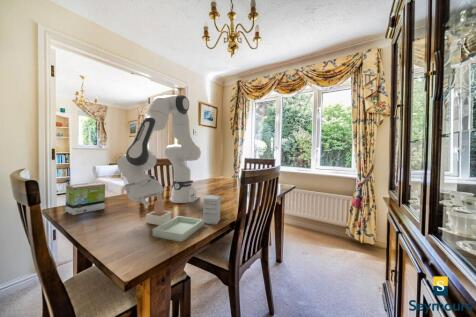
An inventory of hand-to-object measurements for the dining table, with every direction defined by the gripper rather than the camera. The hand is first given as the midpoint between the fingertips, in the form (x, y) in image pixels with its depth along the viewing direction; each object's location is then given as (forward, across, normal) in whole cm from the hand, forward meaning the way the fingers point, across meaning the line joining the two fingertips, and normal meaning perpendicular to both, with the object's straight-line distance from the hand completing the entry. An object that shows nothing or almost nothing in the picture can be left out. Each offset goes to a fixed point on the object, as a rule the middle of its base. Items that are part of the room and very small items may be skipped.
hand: (155, 203), depth 99 cm
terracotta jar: (+8, 0, +5) cm, 9 cm away
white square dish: (+8, 0, +5) cm, 9 cm away
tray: (+19, -6, -7) cm, 21 cm away
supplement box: (+25, +10, -12) cm, 30 cm away
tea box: (-25, -2, +38) cm, 46 cm away
